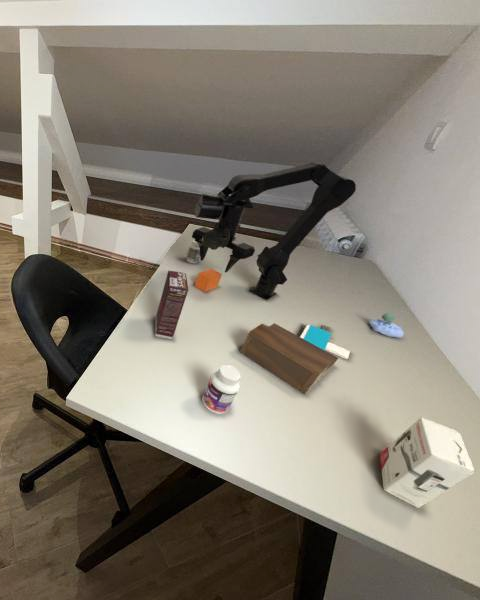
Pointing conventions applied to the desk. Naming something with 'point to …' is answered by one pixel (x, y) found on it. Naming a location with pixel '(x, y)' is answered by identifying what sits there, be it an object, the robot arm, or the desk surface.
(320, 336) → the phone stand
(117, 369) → the desk surface
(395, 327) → the figurine
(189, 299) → the desk surface
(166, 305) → the supplement box
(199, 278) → the orange block
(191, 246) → the pill bottle
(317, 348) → the step shelf
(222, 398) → the pill bottle
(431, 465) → the ink box
